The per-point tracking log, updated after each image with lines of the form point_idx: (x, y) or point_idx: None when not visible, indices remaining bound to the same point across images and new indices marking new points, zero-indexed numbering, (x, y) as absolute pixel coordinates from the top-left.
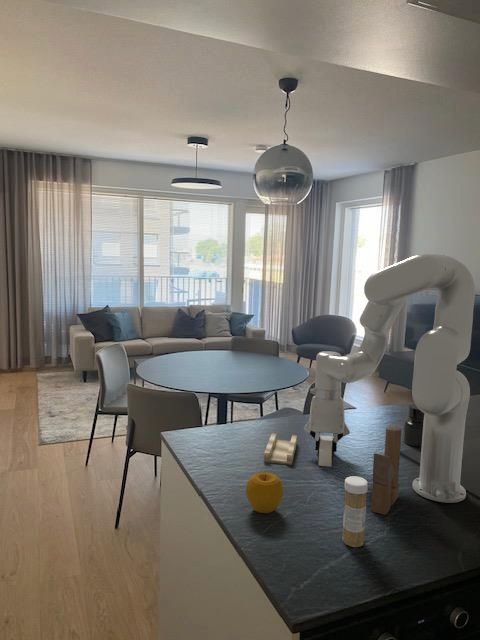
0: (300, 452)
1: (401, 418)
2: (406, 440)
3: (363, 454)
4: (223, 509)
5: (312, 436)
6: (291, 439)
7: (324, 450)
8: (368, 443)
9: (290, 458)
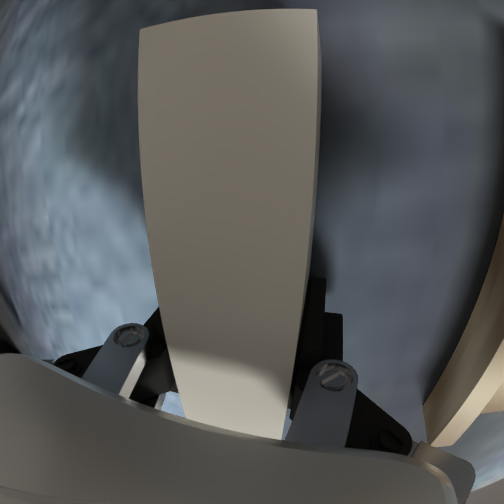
0: (439, 310)
1: None
2: None
3: (80, 304)
4: None
5: (379, 410)
6: (488, 399)
7: (233, 15)
8: None
9: None
